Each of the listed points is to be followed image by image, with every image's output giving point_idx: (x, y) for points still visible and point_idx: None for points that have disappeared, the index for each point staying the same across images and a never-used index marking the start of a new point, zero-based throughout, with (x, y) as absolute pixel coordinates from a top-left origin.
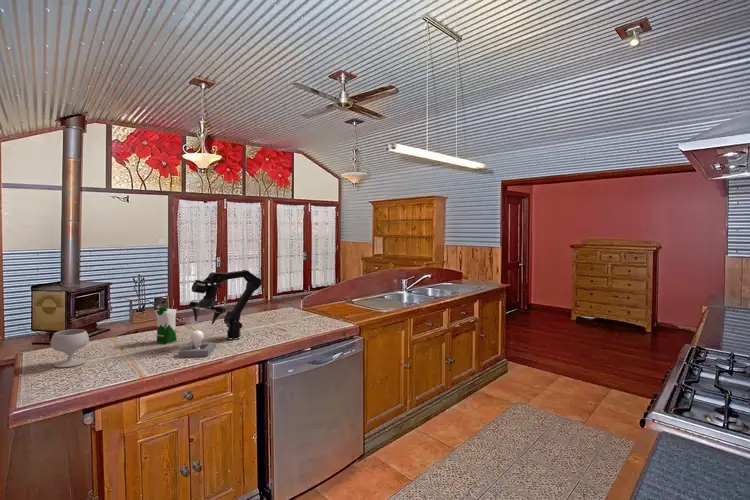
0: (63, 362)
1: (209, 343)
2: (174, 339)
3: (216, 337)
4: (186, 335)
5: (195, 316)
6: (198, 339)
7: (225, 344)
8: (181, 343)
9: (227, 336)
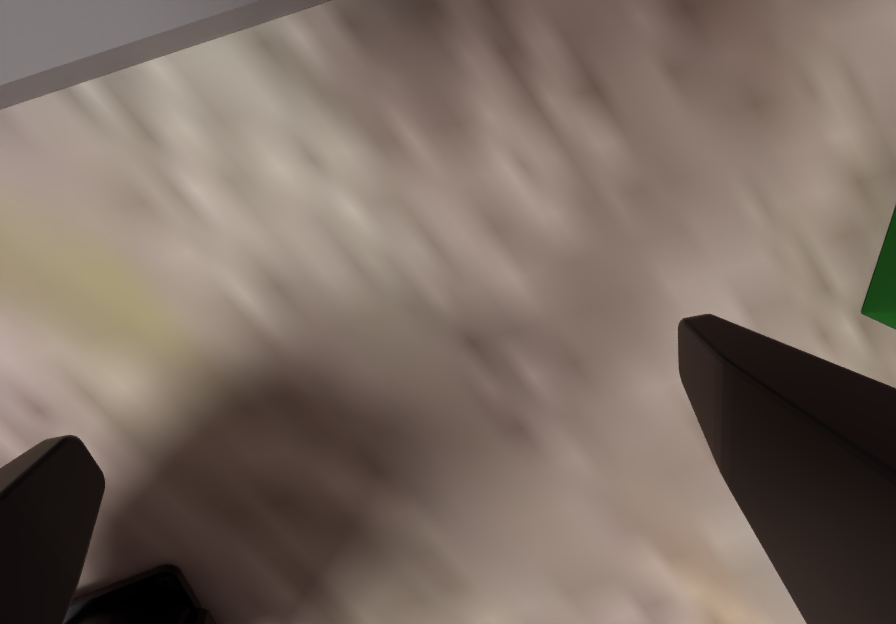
0: None
1: (11, 12)
2: (890, 282)
3: (417, 591)
4: None
5: (827, 400)
6: None
7: (3, 350)
8: (724, 209)
9: (200, 619)
